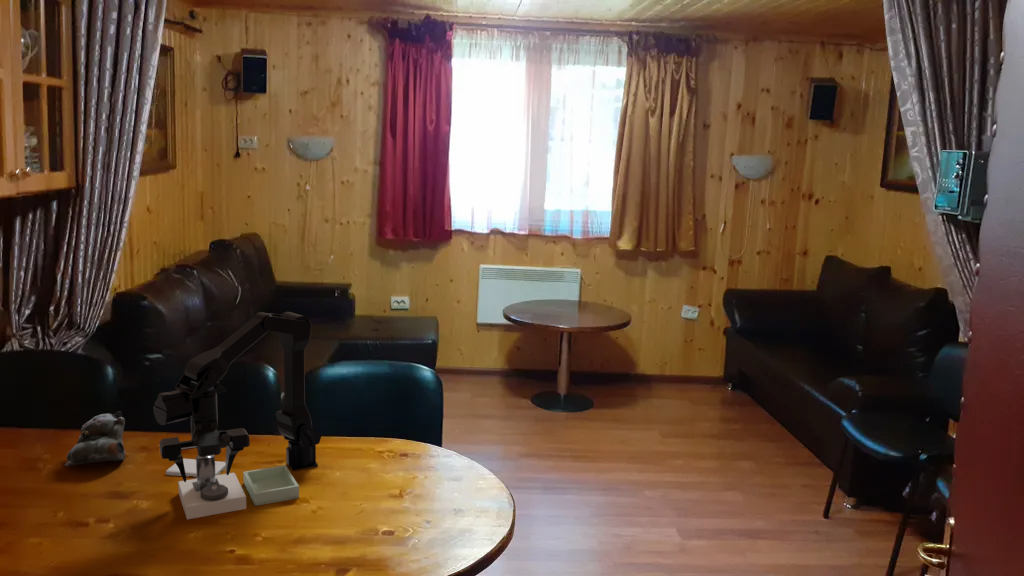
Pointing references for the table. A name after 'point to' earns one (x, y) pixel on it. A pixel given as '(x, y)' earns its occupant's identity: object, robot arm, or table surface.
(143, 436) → the table surface
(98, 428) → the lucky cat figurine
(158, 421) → the robot arm
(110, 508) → the table surface
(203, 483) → the pin
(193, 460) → the external hard drive
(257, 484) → the tray
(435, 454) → the table surface
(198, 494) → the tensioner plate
